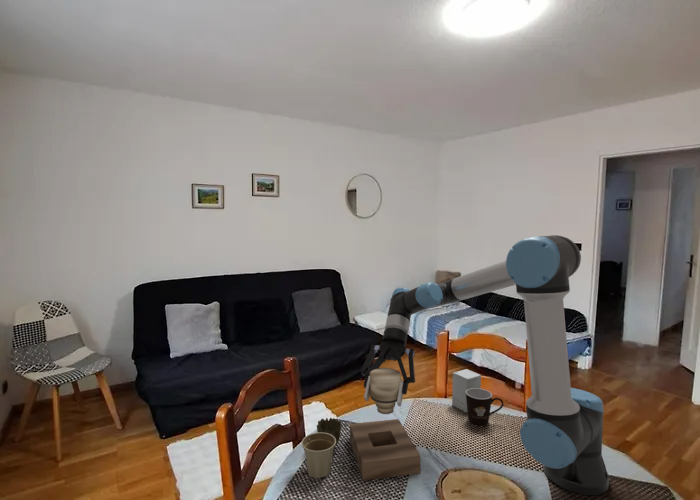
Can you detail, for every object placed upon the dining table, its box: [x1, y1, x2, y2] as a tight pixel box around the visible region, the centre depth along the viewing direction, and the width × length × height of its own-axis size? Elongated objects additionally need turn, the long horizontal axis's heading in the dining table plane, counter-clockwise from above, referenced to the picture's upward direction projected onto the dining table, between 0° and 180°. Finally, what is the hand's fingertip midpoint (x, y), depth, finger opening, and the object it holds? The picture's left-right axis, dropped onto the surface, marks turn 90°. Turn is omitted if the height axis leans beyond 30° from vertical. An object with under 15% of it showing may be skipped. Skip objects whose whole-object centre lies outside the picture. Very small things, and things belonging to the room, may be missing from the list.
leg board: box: [349, 418, 421, 481], centre depth 114 cm, size 20×16×5 cm
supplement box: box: [451, 368, 482, 414], centre depth 143 cm, size 7×7×13 cm
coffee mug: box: [466, 388, 504, 427], centre depth 131 cm, size 12×9×10 cm
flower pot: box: [301, 432, 337, 479], centre depth 107 cm, size 9×9×9 cm
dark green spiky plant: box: [316, 417, 342, 451], centre depth 117 cm, size 8×7×8 cm
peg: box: [369, 367, 402, 415], centre depth 114 cm, size 9×9×11 cm
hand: (382, 401), depth 111 cm, fingers closed on peg, 9 cm apart
